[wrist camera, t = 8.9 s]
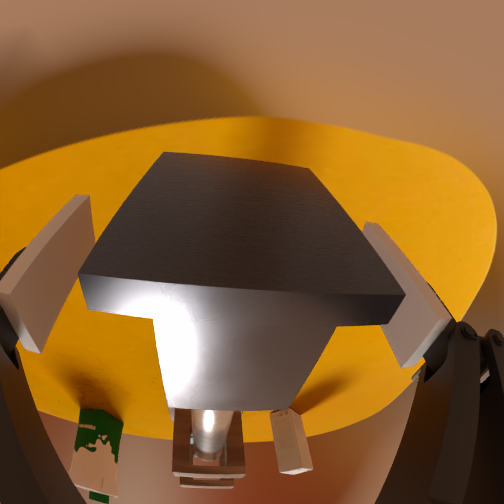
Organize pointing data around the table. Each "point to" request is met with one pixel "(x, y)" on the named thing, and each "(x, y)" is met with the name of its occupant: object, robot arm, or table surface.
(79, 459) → the milk carton
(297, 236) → the shaft
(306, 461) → the skincare box
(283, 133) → the table surface
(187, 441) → the bearing stand
